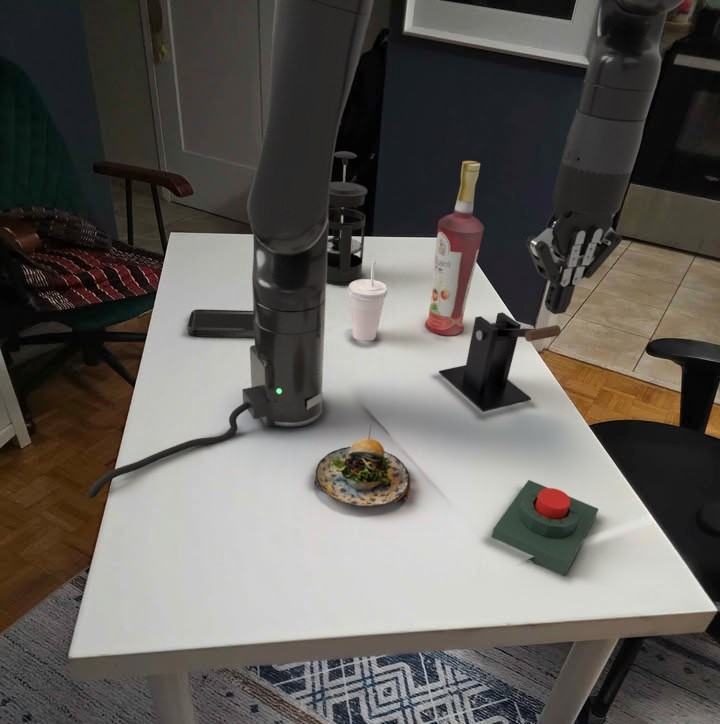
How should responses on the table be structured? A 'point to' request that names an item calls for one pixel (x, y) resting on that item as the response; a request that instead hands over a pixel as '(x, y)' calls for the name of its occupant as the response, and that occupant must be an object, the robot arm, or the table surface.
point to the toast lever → (526, 332)
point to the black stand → (488, 367)
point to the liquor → (455, 258)
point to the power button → (552, 503)
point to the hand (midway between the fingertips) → (555, 310)
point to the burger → (363, 475)
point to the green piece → (544, 529)
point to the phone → (221, 323)
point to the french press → (345, 229)
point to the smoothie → (366, 306)
